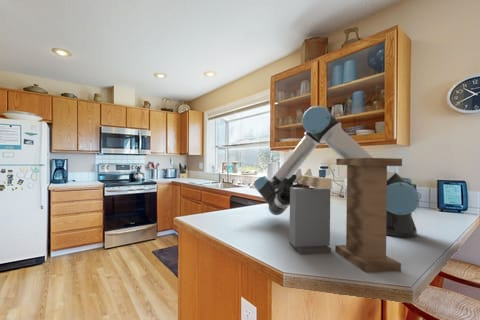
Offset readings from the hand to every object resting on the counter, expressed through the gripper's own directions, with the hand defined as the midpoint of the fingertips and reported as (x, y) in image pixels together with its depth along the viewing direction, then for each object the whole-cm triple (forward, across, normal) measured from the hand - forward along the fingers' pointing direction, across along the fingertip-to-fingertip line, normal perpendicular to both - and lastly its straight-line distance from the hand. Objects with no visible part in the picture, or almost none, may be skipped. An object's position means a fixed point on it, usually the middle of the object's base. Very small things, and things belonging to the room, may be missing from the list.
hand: (305, 172), depth 83 cm
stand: (0, -12, -29) cm, 32 cm away
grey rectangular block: (-9, 0, -24) cm, 25 cm away
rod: (+1, 0, -6) cm, 6 cm away
